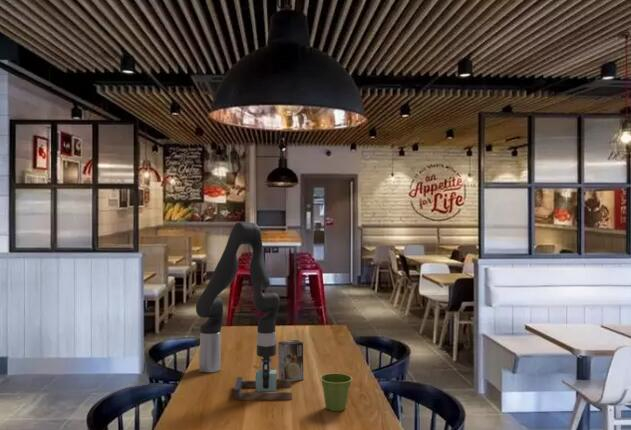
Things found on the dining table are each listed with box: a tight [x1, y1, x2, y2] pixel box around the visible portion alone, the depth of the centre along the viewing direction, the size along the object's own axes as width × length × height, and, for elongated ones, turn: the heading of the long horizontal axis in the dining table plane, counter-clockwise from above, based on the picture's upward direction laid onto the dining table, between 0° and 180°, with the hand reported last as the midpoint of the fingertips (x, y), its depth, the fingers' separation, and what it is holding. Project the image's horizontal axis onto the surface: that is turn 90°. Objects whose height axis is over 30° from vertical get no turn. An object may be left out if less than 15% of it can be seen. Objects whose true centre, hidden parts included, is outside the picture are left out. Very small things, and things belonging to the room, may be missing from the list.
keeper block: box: [255, 369, 277, 392], centre depth 226 cm, size 8×5×7 cm, turn 94°
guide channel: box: [233, 376, 293, 401], centre depth 226 cm, size 22×16×4 cm
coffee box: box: [277, 339, 304, 383], centre depth 243 cm, size 9×6×16 cm
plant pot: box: [319, 372, 353, 412], centre depth 208 cm, size 12×12×11 cm
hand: (266, 385), depth 226 cm, fingers closed on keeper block, 5 cm apart
